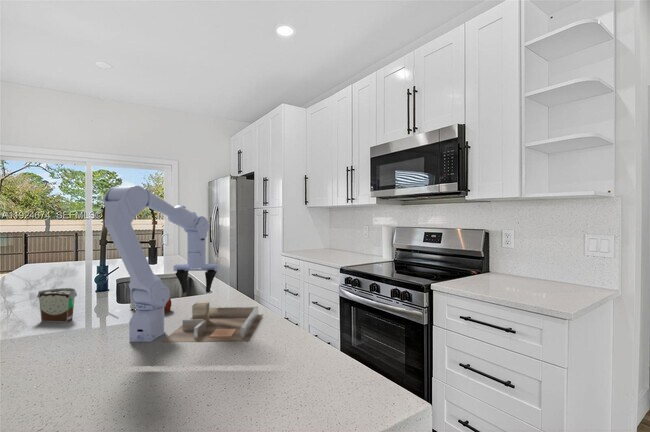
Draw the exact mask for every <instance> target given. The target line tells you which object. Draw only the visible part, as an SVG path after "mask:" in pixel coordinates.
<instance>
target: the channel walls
mask: <svg viewBox="0 0 650 432" xmlns="http://www.w3.org/2000/svg"><path fill="white" fill-rule="evenodd" d="M258 315H259V306H209V317H235V316H249V317H248V318H247V320H246V321H245V322H244V324H243V325H242V327H241V339H244V338H245V337H246V335H247V333H248V332H249V330H250V328H251V327H252V325H253V323H254V322H255V320H256V318H257V317H258ZM182 325H183V330H194V339H198V338H199V337H200V336H201V335H202V334H203V333H204V332H205V331H206V330H207V319H190V318H186V319H185V318H184V319H182Z"/></svg>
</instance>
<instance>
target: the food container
mask: <svg viewBox="0 0 650 432" xmlns="http://www.w3.org/2000/svg"><path fill="white" fill-rule="evenodd" d="M76 297H78V294H77V291H76V289H75V288H71V287H66V288H65V287H63V288H52V289H51V288H50V289H45V290H40V291H38V293H37V296H36V298H38V301H39V302H38V304H39V309H40V310H39V311H40V319H41V322H44V323H45V322H46V323H50V322H51V323H69V322H71V321H72V320H73V316H74V308H75V307H74V306H75V298H76Z"/></svg>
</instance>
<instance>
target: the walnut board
mask: <svg viewBox="0 0 650 432" xmlns="http://www.w3.org/2000/svg"><path fill="white" fill-rule="evenodd" d="M263 316H264V314H258V317H257V318H256V320H255V322H254V323H253V325H252V327H251V328H250V330H249V332H248V333H247V335H246V337H245V338H244V339H241V327H242V325H243V324H244V322H245V321H246V320H247V318H248V317H249V316H235V317H209V321H208V322H207V330H206V331H205V332H204V333H203V334H202V335H201V336H200V337H199V338H198V339H194V330H183V324H181V326H180V327H178V328H177V329H175V330H174V331H173V332H171V334H170V335H168V336H167V337H165V339H163V340H162V341H161V343H206V342H207V343H208V342H209V343H210V342H211V343H214V342H215V343H218V342H220V343H221V342H226V343H228V342H230V343H232V342H238V343H239V342H249V341H250V338H252V335H253V333H254V332H255V330H256V328H257V326H258V324H260V321H261V319H262V317H263ZM189 319H192V317H190V318H189ZM216 329H236V331H235V332H234V334H233V335H232V337H210V335H211V334H212V333H213V332H214V331H215V330H216Z"/></svg>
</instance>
